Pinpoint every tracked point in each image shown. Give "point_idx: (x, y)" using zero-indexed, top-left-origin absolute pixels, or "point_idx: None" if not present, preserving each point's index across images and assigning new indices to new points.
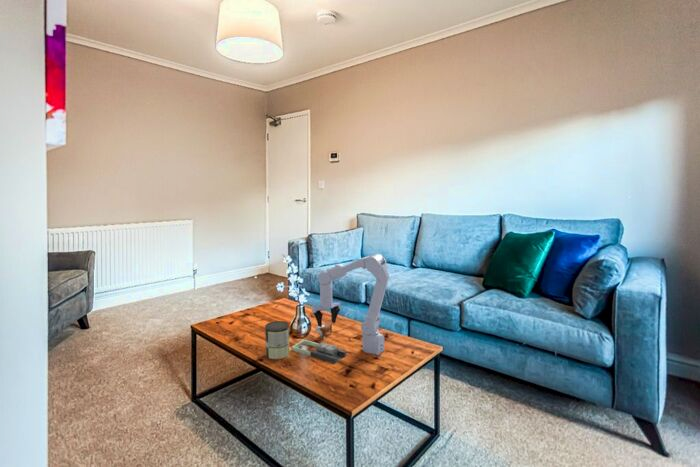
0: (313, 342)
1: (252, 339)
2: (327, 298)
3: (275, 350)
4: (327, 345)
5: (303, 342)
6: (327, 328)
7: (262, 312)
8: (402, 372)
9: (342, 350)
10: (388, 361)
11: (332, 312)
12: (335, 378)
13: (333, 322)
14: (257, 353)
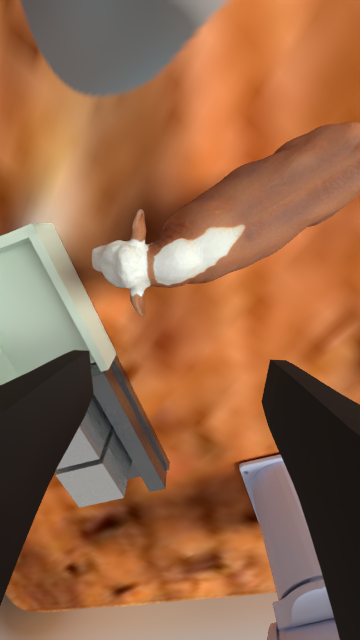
0: (71, 309)
1: None
2: None
3: None
4: (83, 462)
5: (22, 241)
6: (240, 268)
7: None
8: (238, 592)
9: (156, 474)
10: (264, 548)
11: (349, 493)
12: (48, 530)
13: (265, 394)
14: None
